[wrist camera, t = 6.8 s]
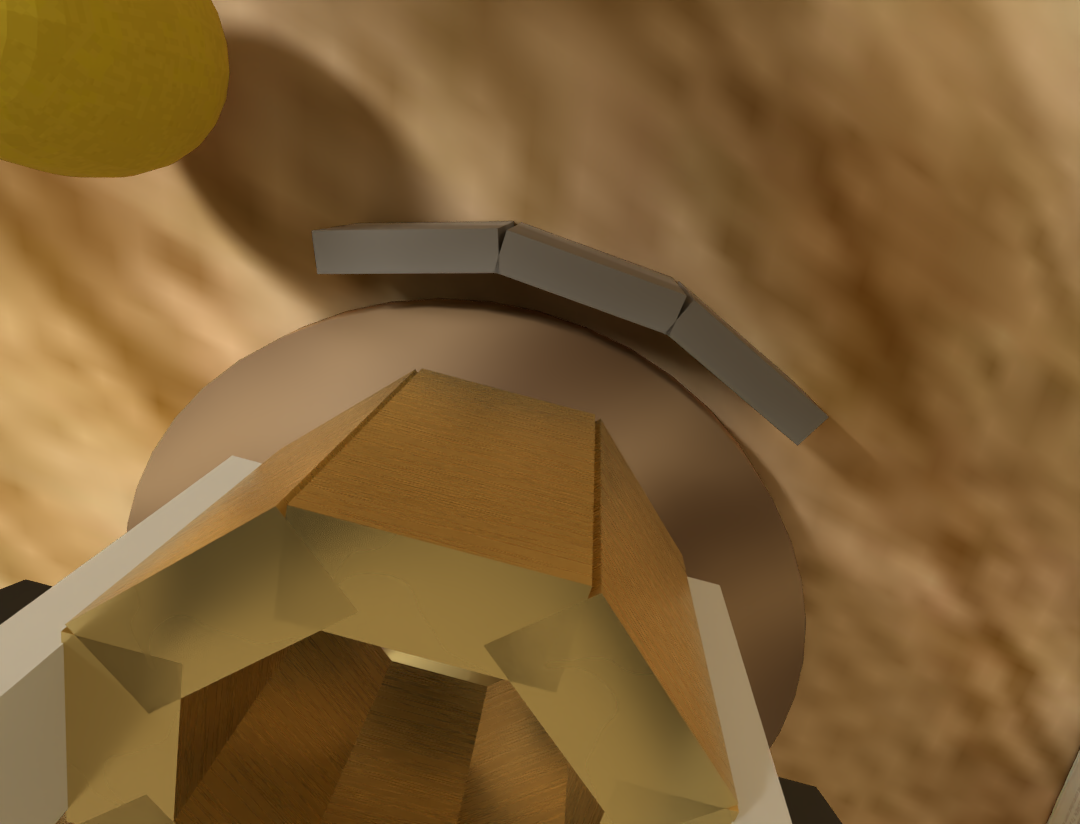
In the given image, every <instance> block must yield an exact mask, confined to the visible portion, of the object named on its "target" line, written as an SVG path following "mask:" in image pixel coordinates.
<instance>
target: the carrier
mask: <svg viewBox="0 0 1080 824" xmlns="http://www.w3.org/2000/svg"><path fill="white" fill-rule="evenodd" d="M312 238H313V245H314V253H315V260H316V267H317V274H403V273H498V274H501V275H504V276H506V277H509V278H512V279H515V280H517V281H520V282H523V283H526V284H529V285H531V286H534V287H537V288H540V289H542V290H545V291H548V292H551V293H553V294H556V295H559V296H562V297H564V298H567V299H570V300H573V301H576V302H578V303H581V304H584V305H587V306H589V307H592V308H595V309H598V310H600V311H603V312H606V313H609V314H611V315H614V316H617V317H620V318H623V319H625V320H628V321H631V322H634V323H636V324H639V325H642V326H645V327H647V328H650V329H653V330H656V331H658V332H661V333H664V334H667V335H668V336H669V337H671V338H672V339H673V340H674V341H675V342H676V343H678V344H679V345H680V346H681V347H682V348H683V349H685V350H686V351H687V352H688V353H689V354H691V355H692V356H693V357H694V358H695V359H696V360H698V361H699V362H700V363H701V364H702V365H703V366H705V367H706V368H707V369H708V370H709V371H710V372H712V373H713V374H714V375H715V376H716V377H717V378H719V379H720V380H721V381H722V382H723V383H725V384H726V385H727V386H728V387H729V388H730V389H732V390H733V391H734V392H735V393H736V394H737V395H739V396H740V397H741V398H742V399H743V400H744V401H746V402H747V403H748V404H749V405H750V406H752V407H753V408H754V409H755V410H756V411H757V412H759V413H760V414H761V415H762V416H763V417H764V418H766V419H767V420H768V421H769V422H770V423H771V424H773V425H774V426H775V427H776V428H777V429H779V430H780V431H781V432H782V433H783V434H784V435H786V436H787V437H788V438H789V439H790V440H791V441H793V442H794V443H795V444H796V445H797V446H798V445H799V444H800V443H801V442H802V441H803V440H804V439H805V438H807V437H808V436H809V435H810V434H811V433H812V432H813V431H814V430H815V429H816V428H817V427H818V426H820V425H821V424H822V423H823V422H824V421H825V420H826V419H827V418H828V416H827V415H826V414H825V413H824V412H823V411H822V410H821V409H820V408H819V407H818V406H817V405H816V404H815V403H814V402H813V401H812V400H811V399H810V398H809V397H808V396H807V395H806V394H805V393H804V392H803V391H802V390H801V389H800V388H799V387H798V386H797V385H796V384H795V383H794V382H793V381H792V380H791V379H790V378H789V377H788V376H787V375H785V374H784V373H783V372H782V371H781V370H780V369H779V368H777V367H776V366H775V365H774V364H773V363H772V362H771V361H769V360H768V359H767V358H766V357H765V356H764V355H763V354H761V353H760V352H759V351H758V350H757V349H756V348H755V347H753V346H752V345H751V344H750V343H749V342H748V341H747V340H745V339H744V338H743V337H742V336H741V335H740V334H739V333H737V332H736V331H735V330H734V329H733V328H732V327H731V326H729V325H728V324H727V323H726V322H725V321H724V320H722V319H721V318H720V317H719V316H718V315H717V314H716V313H714V312H713V311H712V310H711V309H710V308H709V307H708V306H706V305H705V304H704V303H703V302H702V301H701V300H700V299H698V298H697V297H696V296H695V295H694V294H693V293H692V292H690V291H689V290H688V289H687V288H686V287H685V286H684V285H682V284H681V283H680V282H678V283H676V282H675V280H674V279H673V278H672V277H669V276H667V275H664V274H661V273H658V272H656V271H653V270H650V269H647V268H645V267H642V266H639V265H637V264H634V263H631V262H628V261H626V260H623V259H620V258H617V257H615V256H612V255H609V254H606V253H604V252H601V251H598V250H595V249H593V248H590V247H587V246H585V245H582V244H579V243H576V242H574V241H571V240H568V239H565V238H563V237H560V236H557V235H554V234H552V233H549V232H546V231H543V230H541V229H538V228H535V227H533V226H530V225H527V224H524V223H522V222H521V223H519V224H518V225H516V226H514V221H490V222H415V223H356V224H350V225H343V226H337V227H331V228H325V229H319V230H313V231H312ZM422 368H423V369H427V370H430V371H434V372H438V373H442V374H445V375H449V376H453V377H457V378H460V379H464V380H468V381H472V382H475V383H479V384H483V385H487V386H490V387H494V388H498V389H502V390H505V391H509V392H513V393H517V394H520V395H524V396H528V397H532V398H535V399H539V400H543V401H547V402H550V403H554V404H558V405H562V406H565V407H569V408H573V409H577V410H580V411H584V412H588V413H592V414H595V421H597V420H599V419H601V420H602V422H603V423H604V425H605V427H606V428H607V430H608V432H609V433H610V435H611V437H612V438H613V440H614V442H615V443H616V445H617V447H618V448H619V450H620V452H621V454H622V455H623V457H624V459H625V460H626V462H627V464H628V465H629V467H630V469H631V470H632V472H633V474H634V475H635V477H636V479H637V480H638V482H639V484H640V485H641V487H642V489H643V490H644V492H645V494H646V495H647V497H648V499H649V501H650V502H651V504H652V506H653V507H654V509H655V511H656V512H657V514H658V516H659V517H660V519H661V521H662V522H663V524H664V526H665V527H666V529H667V531H668V532H669V534H670V536H671V537H672V539H673V541H674V543H675V544H676V546H677V548H678V549H679V551H680V553H681V554H682V556H683V561H684V565H685V570H686V574H687V577H691V578H695V579H698V580H702V581H706V582H710V583H713V584H717V585H720V588H721V591H722V594H723V598H724V601H725V604H726V607H727V611H728V614H729V617H730V621H731V624H732V627H733V630H734V634H735V637H736V640H737V644H738V647H739V650H740V653H741V657H742V660H743V663H744V667H745V670H746V673H747V677H748V680H749V683H750V686H751V690H752V693H753V696H754V700H755V703H756V706H757V709H758V713H759V716H760V719H761V723H762V726H763V729H764V732H765V736H766V739H767V742H768V746H769V749H770V747H771V746H772V744H773V742H774V741H775V739H776V737H777V736H778V734H779V733H780V731H781V728H782V726H783V724H784V721H785V719H786V716H787V714H788V712H789V709H790V707H791V705H792V702H793V700H794V697H795V693H796V689H797V685H798V681H799V676H800V672H801V668H802V664H803V656H804V642H805V628H806V620H805V609H804V598H803V588H802V581H801V577H800V573H799V569H798V566H797V562H796V558H795V554H794V550H793V547H792V543H791V540H790V538H789V536H788V534H787V531H786V529H785V527H784V524H783V522H782V520H781V518H780V515H779V513H778V511H777V509H776V506H775V504H774V502H773V500H772V498H771V496H770V495H769V493H768V491H767V489H766V487H765V486H764V484H763V482H762V480H761V479H760V477H759V475H758V474H757V472H756V471H755V469H754V467H753V466H752V464H751V463H750V461H749V460H748V458H747V456H746V455H745V453H744V452H743V450H742V449H741V447H740V445H739V444H738V442H737V441H736V440H735V439H734V438H733V436H732V435H731V434H730V433H729V432H728V431H727V429H726V428H725V427H724V426H723V425H722V424H721V422H720V421H719V420H718V419H717V418H716V417H715V415H714V414H713V413H712V412H711V411H710V410H709V408H708V407H707V406H705V405H704V404H703V403H702V402H701V401H700V400H699V399H697V398H696V397H695V396H694V395H693V394H692V393H691V392H690V391H688V390H687V389H686V388H685V387H684V386H683V385H682V384H680V383H679V382H678V381H677V380H676V379H675V378H674V377H672V376H671V375H670V374H668V373H667V372H665V371H664V370H662V369H661V368H659V367H658V366H656V365H655V364H653V363H652V362H650V361H649V360H647V359H645V358H644V357H642V356H641V355H639V354H638V353H636V352H635V351H633V350H632V349H630V348H628V347H626V346H624V345H622V344H620V343H618V342H616V341H614V340H612V339H610V338H608V337H605V336H603V335H601V334H599V333H597V332H595V331H593V330H591V329H589V328H587V327H584V326H581V325H578V324H575V323H572V322H569V321H566V320H563V319H560V318H557V317H555V316H552V315H549V314H546V313H543V312H540V311H535V310H530V309H525V308H520V307H515V306H510V305H505V304H499V303H494V302H489V301H473V300H457V299H442V298H439V299H424V300H410V301H396V302H388V303H383V304H379V305H374V306H369V307H364V308H360V309H355V310H350V311H345V312H343V313H340V314H337V315H335V316H332V317H329V318H326V319H324V320H321V321H318V322H315V323H313V324H310V325H307V326H304V327H302V328H300V329H298V330H296V331H294V332H292V333H290V334H288V335H286V336H283V337H281V338H279V339H277V340H276V341H274V342H272V343H270V344H268V345H266V346H265V347H263V348H261V349H259V350H257V351H255V352H254V353H252V354H250V355H248V356H246V357H244V358H243V359H241V360H239V361H238V362H236V363H235V364H234V365H232V366H231V367H230V368H228V369H227V370H226V371H224V372H223V373H222V374H221V375H219V376H218V377H217V378H215V379H214V380H213V381H211V382H210V383H209V384H208V385H206V386H205V387H204V388H203V389H202V390H201V391H200V392H199V393H198V394H197V395H196V396H195V397H194V398H193V399H192V400H191V402H190V403H189V404H188V405H187V406H186V407H185V408H184V409H183V410H182V411H181V412H180V413H179V414H178V415H177V416H176V418H175V419H174V420H173V422H172V423H171V425H170V426H169V428H168V429H167V431H166V432H165V434H164V435H163V437H162V438H161V440H160V441H159V443H158V444H157V446H156V447H155V449H154V450H153V452H152V454H151V457H150V459H149V461H148V463H147V466H146V468H145V470H144V472H143V475H142V477H141V479H140V481H139V484H138V486H137V489H136V493H135V497H134V501H133V505H132V509H131V512H130V516H129V520H128V526H127V532H128V531H130V530H131V529H132V528H134V527H135V526H136V525H138V524H139V523H140V522H142V521H143V520H145V519H146V518H147V517H149V516H150V515H151V514H153V513H154V512H156V511H157V510H158V509H160V508H161V507H162V506H164V505H165V504H167V503H168V502H169V501H171V500H172V499H173V498H175V497H176V496H177V495H179V494H180V493H182V492H183V491H184V490H186V489H187V488H188V487H190V486H191V485H193V484H194V483H195V482H197V481H198V480H199V479H201V478H202V477H204V476H205V475H206V474H208V473H209V472H210V471H212V470H213V469H214V468H216V467H217V466H219V465H220V464H221V463H223V462H224V461H225V460H227V459H228V458H230V457H231V456H236V457H240V458H244V459H247V460H251V461H255V462H259V463H264V462H265V461H266V460H267V459H269V458H270V457H271V456H272V455H274V454H275V453H276V452H277V451H278V450H280V449H281V448H283V447H284V446H286V445H288V444H289V443H291V442H293V441H295V440H296V439H298V438H300V437H301V436H303V435H305V434H306V433H308V432H310V431H311V430H313V429H315V428H317V427H318V426H320V425H322V424H323V423H325V422H327V421H328V420H330V419H332V418H333V417H335V416H337V415H339V414H340V413H342V412H344V411H345V410H347V409H349V408H350V407H352V406H354V405H356V404H357V403H359V402H361V401H362V400H364V399H366V398H367V397H369V396H371V395H372V394H374V393H376V392H378V391H379V390H381V389H383V388H384V387H386V386H388V385H389V384H391V383H393V382H394V381H396V380H398V379H400V378H401V377H403V376H405V375H406V374H408V373H410V372H411V371H413V370H415V369H416V371H417V372H419V371H420V370H421V369H422ZM381 648H382V649H383V650H384V652H385V653H386V654H387V655H388V657H389V658H390V659H391V660H392V661H395V662H398V663H402V664H406V665H410V666H413V667H417V668H421V669H425V670H428V671H432V672H436V673H440V674H443V675H447V676H451V677H455V678H458V679H462V680H466V681H470V682H473V683H477V684H481V685H485V686H490V685H492V684H494V683H497V682H499V681H501V680H504V679H500V678H496V677H493V676H489V675H485V674H481V673H478V672H474V671H470V670H466V669H463V668H459V667H455V666H451V665H448V664H444V663H440V662H436V661H433V660H429V659H425V658H421V657H418V656H414V655H410V654H406V653H403V652H399V651H395V650H391V649H388V648H384V647H381Z"/></svg>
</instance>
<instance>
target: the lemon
mask: <svg viewBox="0 0 1080 824" xmlns="http://www.w3.org/2000/svg"><path fill="white" fill-rule="evenodd" d="M229 75H230V72H229V61H228V50H227V42H226V39H225V36H224V32H223V29H222V26H221V22H220V19H219V16H218V12H217V10H216V9H215V7H214V5H213V3H212V1H211V0H0V159H1V160H4V161H8V162H11V163H15V164H19V165H22V166H26V167H29V168H33V169H36V170H40V171H44V172H48V173H52V174H58V175H63V176H72V177H128V176H134V175H138V174H141V173H145V172H148V171H152V170H155V169H158V168H162V167H165V166H169V165H171V164H173V163H175V162H177V161H178V160H180V159H181V158H182V157H184V156H185V155H187V154H188V153H190V152H191V151H193V150H194V149H195V148H197V147H198V146H199V145H200V144H201V143H202V142H203V141H204V139H205V138H206V137H207V135H208V134H209V133H210V132H211V130H212V129H213V128H214V126H215V125H216V123H217V121H218V118H219V116H220V113H221V111H222V108H223V106H224V103H225V101H226V97H227V89H228V82H229Z"/></svg>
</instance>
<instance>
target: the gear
mask: <svg viewBox="0 0 1080 824" xmlns="http://www.w3.org/2000/svg"><path fill="white" fill-rule="evenodd" d="M65 625H66V626H67V627H66V628H64V629H63V630H62V631H61V643H63V646H64V684H65V722H66V760H67V797H68V809H67V811H66V821H67V822H71V823H74V824H731V823H732V822H734V821H735V819H736V817H737V815H738V813H739V809H738V805H737V804H738V799H737V795H736V791H735V786H734V782H733V777H732V773H731V768H730V764H729V760H728V755H727V751H726V746H725V742H724V737H723V733H722V729H721V724H720V720H719V715H718V711H717V707H716V702H715V698H714V693H713V689H712V684H711V680H710V676H709V671H708V667H707V662H706V658H705V653H704V649H703V645H702V640H701V636H700V631H699V627H698V623H697V618H696V614H695V609H694V605H693V600H692V596H691V592H690V587H689V583H688V578H687V574H686V570H685V565H684V561H683V556H682V554H681V553H680V551H679V549H678V548H677V546H676V544H675V543H674V541H673V539H672V537H671V536H670V534H669V532H668V531H667V529H666V527H665V526H664V524H663V522H662V521H661V519H660V517H659V516H658V514H657V512H656V511H655V509H654V507H653V506H652V504H651V502H650V501H649V499H648V497H647V495H646V494H645V492H644V490H643V489H642V487H641V485H640V484H639V482H638V480H637V479H636V477H635V475H634V474H633V472H632V470H631V469H630V467H629V465H628V464H627V462H626V460H625V459H624V457H623V455H622V454H621V452H620V450H619V448H618V447H617V445H616V443H615V442H614V440H613V438H612V437H611V435H610V433H609V432H608V430H607V428H606V427H605V425H604V423H603V422H602V420H601V419H599V420H597V421H595V414H592V413H588V412H584V411H580V410H577V409H573V408H569V407H565V406H562V405H558V404H554V403H550V402H547V401H543V400H539V399H535V398H532V397H528V396H524V395H520V394H517V393H513V392H509V391H505V390H502V389H498V388H494V387H490V386H487V385H483V384H479V383H475V382H472V381H468V380H464V379H460V378H457V377H453V376H449V375H445V374H442V373H438V372H434V371H430V370H427V369H423V368H422V369H421V370H420V371H419V372H417V371H416V369H415V370H413V371H411V372H410V373H408V374H406V375H405V376H403V377H401V378H400V379H398V380H396V381H394V382H393V383H391V384H389V385H388V386H386V387H384V388H383V389H381V390H379V391H378V392H376V393H374V394H372V395H371V396H369V397H367V398H366V399H364V400H362V401H361V402H359V403H357V404H356V405H354V406H352V407H350V408H349V409H347V410H345V411H344V412H342V413H340V414H339V415H337V416H335V417H333V418H332V419H330V420H328V421H327V422H325V423H323V424H322V425H320V426H318V427H317V428H315V429H313V430H311V431H310V432H308V433H306V434H305V435H303V436H301V437H300V438H298V439H296V440H295V441H293V442H291V443H289V444H288V445H286V446H284V447H283V448H281V449H280V450H278V451H277V452H276V453H275V454H274V455H272V456H271V457H270V458H269V459H267V460H266V461H265V462H264V463H262V464H261V465H260V466H259V467H258V468H256V469H255V470H254V471H253V472H251V473H250V474H249V475H248V476H247V477H245V478H244V479H243V480H242V481H240V482H239V483H238V484H237V485H235V486H234V487H233V488H232V489H231V490H229V491H228V492H227V493H226V494H224V495H223V496H222V497H221V498H220V499H218V500H217V501H216V502H215V503H213V504H212V505H211V506H210V507H208V508H207V509H206V510H205V511H204V512H202V513H201V514H200V515H199V516H197V517H196V518H195V519H194V520H193V521H191V522H190V523H189V524H188V525H186V526H185V527H184V528H183V529H181V530H180V531H179V532H178V533H177V534H175V535H174V536H173V537H172V538H170V539H169V540H168V541H167V542H166V543H164V544H163V545H162V546H161V547H159V548H158V549H157V550H156V551H154V552H153V553H152V554H151V555H150V556H148V557H147V558H146V559H145V560H143V561H142V562H141V563H140V564H139V565H137V566H136V567H135V568H134V569H132V570H131V571H130V572H129V573H127V574H126V575H125V576H124V577H123V578H121V579H120V580H119V581H118V582H116V583H115V584H114V585H113V586H112V587H110V588H109V589H108V590H107V591H105V592H104V593H103V594H102V595H100V596H99V597H98V598H97V599H96V600H94V601H93V602H92V603H91V604H89V605H88V606H87V607H86V608H85V609H83V610H82V611H81V612H80V613H78V614H77V615H76V616H75V617H73V618H72V619H71V620H70V621H69V622H67V623H66V624H65ZM381 647H384V648H388V649H391V650H395V651H399V652H403V653H406V654H410V655H414V656H418V657H421V658H425V659H429V660H433V661H436V662H440V663H444V664H448V665H451V666H455V667H459V668H463V669H466V670H470V671H474V672H478V673H481V674H485V675H489V676H493V677H496V678H500V679H504V680H501V681H499V682H497V683H494V684H492V685H490V686H485V685H481V684H477V683H473V682H470V681H466V680H462V679H458V678H455V677H451V676H447V675H443V674H440V673H436V672H432V671H428V670H425V669H421V668H417V667H413V666H410V665H406V664H402V663H398V662H395V661H392V660H391V659H390V658H389V657H388V655H387V654H386V653H385V652H384V650H383V649H382V648H381Z"/></svg>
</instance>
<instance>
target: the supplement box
mask: <svg viewBox="0 0 1080 824" xmlns="http://www.w3.org/2000/svg"><path fill="white" fill-rule="evenodd" d="M1047 824H1080V750H1079V752H1078V755H1077V757H1076V759H1075V762H1074V764H1073V766H1072V768H1071V770H1070V772H1069V775H1068V777H1067V779H1066V782H1065V784H1064V787H1063V789H1062V791H1061V793H1060V795H1059V797H1058V799H1057V801H1056V804H1055V806H1054V809H1053V811H1052V814H1051V816H1050V818H1049V820H1048V822H1047Z"/></svg>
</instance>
